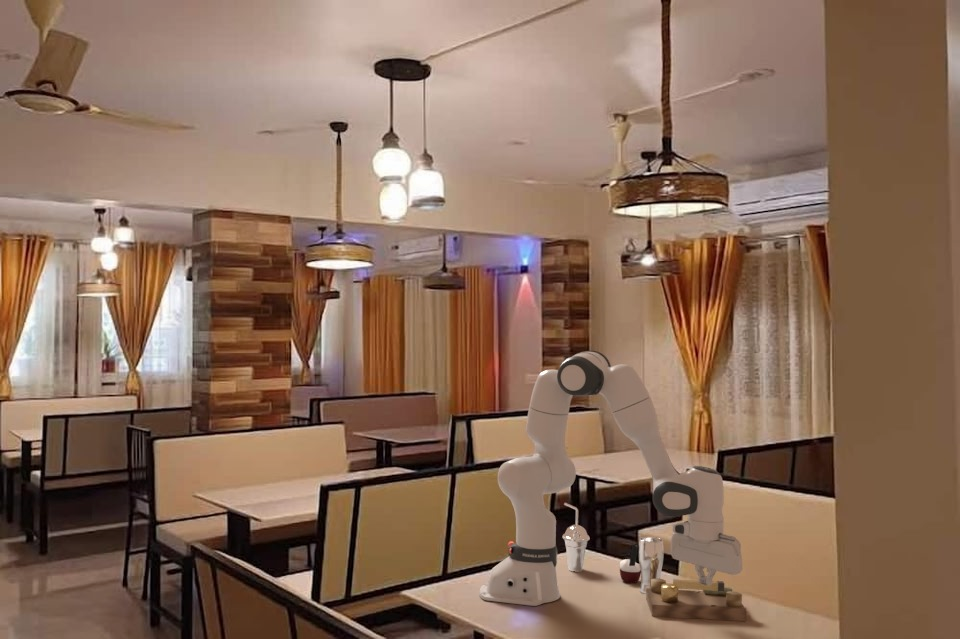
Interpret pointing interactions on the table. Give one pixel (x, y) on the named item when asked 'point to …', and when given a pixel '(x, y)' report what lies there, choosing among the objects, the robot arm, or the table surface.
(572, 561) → the cup with straw
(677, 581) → the lever handle
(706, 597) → the levelling base
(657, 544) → the beer glass
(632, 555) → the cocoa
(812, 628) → the table surface
